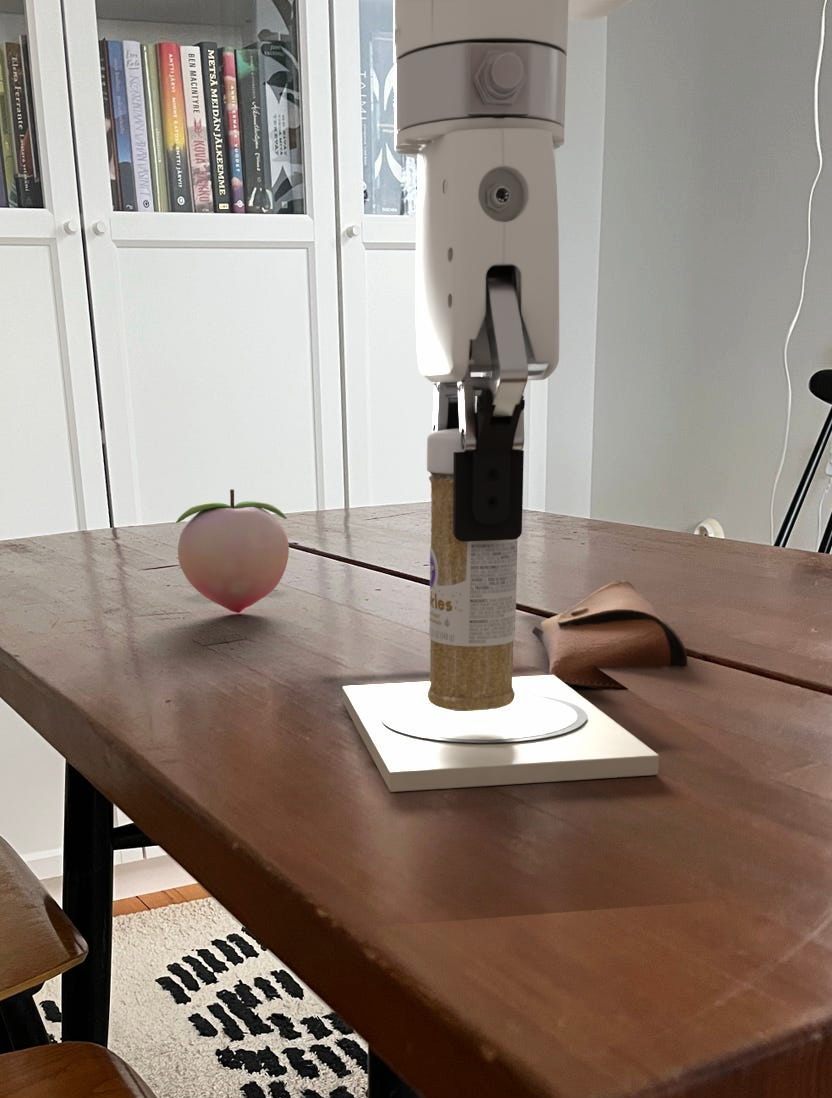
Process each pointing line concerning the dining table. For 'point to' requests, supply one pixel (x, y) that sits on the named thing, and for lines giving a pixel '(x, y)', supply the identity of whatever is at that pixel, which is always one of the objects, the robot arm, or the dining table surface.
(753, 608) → the dining table surface
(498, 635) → the sprinkles bottle
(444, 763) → the white flat block
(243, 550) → the decorative fruit
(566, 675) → the sunglasses case
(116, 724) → the dining table surface
